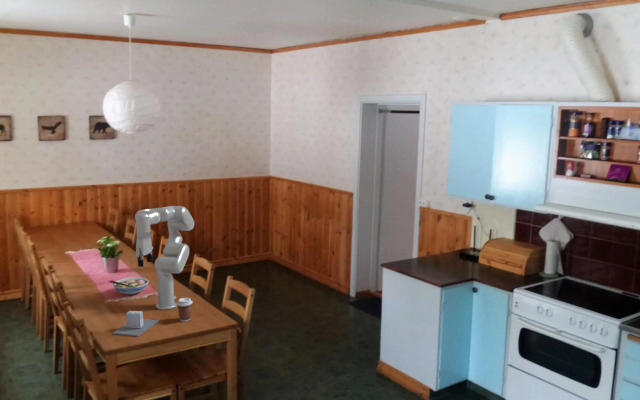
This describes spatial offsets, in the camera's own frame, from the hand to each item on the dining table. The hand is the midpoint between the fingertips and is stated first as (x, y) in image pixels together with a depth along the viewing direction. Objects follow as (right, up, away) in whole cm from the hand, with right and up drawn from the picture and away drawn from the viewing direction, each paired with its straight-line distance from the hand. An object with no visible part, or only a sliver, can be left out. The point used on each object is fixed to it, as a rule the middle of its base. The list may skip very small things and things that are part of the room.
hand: (145, 264), depth 326 cm
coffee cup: (+22, -33, +6) cm, 40 cm away
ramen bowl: (-25, -25, +52) cm, 63 cm away
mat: (-3, -35, -7) cm, 36 cm away
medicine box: (-3, -35, -8) cm, 36 cm away
